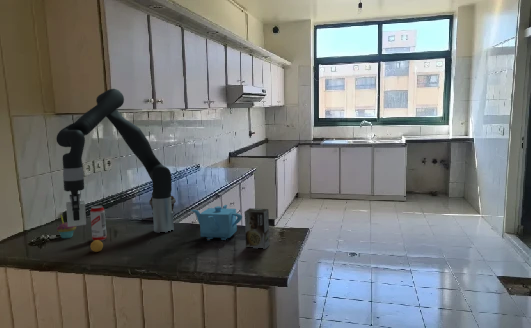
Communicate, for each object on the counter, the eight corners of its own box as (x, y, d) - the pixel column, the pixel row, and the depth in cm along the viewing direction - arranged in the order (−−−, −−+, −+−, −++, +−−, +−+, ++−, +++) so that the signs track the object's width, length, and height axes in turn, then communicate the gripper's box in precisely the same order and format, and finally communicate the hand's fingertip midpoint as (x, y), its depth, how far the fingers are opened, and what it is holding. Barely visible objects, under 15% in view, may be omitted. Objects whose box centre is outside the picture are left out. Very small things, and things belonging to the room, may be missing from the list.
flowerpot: (144, 218, 228) (142, 184, 226) (165, 212, 240) (164, 180, 238) (160, 221, 219) (158, 186, 217) (182, 215, 231) (180, 182, 229)
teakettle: (245, 238, 185) (244, 207, 183) (209, 246, 175) (207, 213, 173) (226, 229, 200) (225, 200, 199) (191, 236, 190) (190, 206, 189)
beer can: (101, 242, 185) (99, 208, 183) (89, 241, 186) (86, 208, 184) (109, 238, 191) (107, 205, 189) (97, 237, 192) (95, 205, 190)
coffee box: (270, 244, 174) (269, 208, 172) (265, 249, 168) (264, 212, 166) (250, 243, 177) (249, 207, 175) (245, 247, 171) (244, 211, 169)
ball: (103, 248, 175) (102, 237, 174) (103, 252, 170) (103, 240, 170) (90, 250, 173) (89, 239, 172) (91, 254, 168) (90, 242, 168)
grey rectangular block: (85, 221, 169) (84, 200, 168) (86, 224, 163) (84, 203, 162) (67, 223, 166) (66, 202, 165) (67, 226, 160) (66, 205, 159)
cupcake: (57, 240, 189) (55, 216, 188) (57, 236, 197) (55, 212, 195) (77, 237, 193) (75, 213, 192) (76, 233, 201) (74, 210, 199)
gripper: (84, 180, 158) (87, 221, 160) (83, 175, 171) (85, 213, 172) (63, 181, 155) (66, 223, 156) (63, 177, 167) (66, 215, 169)
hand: (76, 218), depth 164 cm, fingers closed on grey rectangular block, 7 cm apart
